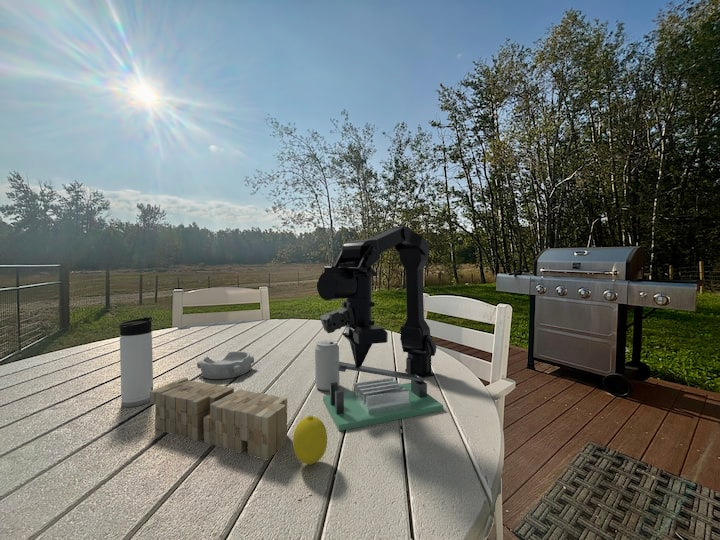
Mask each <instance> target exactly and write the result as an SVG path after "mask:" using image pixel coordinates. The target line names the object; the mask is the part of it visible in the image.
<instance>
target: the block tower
mask: <svg viewBox="0 0 720 540" xmlns="http://www.w3.org/2000/svg"><path fill="white" fill-rule="evenodd" d="M150 404H153V405H155V412H154V414H155V415H154V417H155V418H154V428H155V430H158V431H160V432H162V433H168V434H172V435H176V436H179V437H181V438H182V437H183V438H188V439H191V440H192V441H196V442H198V441H200V440H202V439H203V443H204V444H208V445H213V446H215V447H218V448H224V449H226V448H227V450H229V449H230V450H229V451H232V450H233V452H235V453H238V452H241V453H243V452H244V451H245V450H247V455H248V454H249V455H251V456H250V457H254V456H256V457H255V458H257V457H260V458H259V459H261V458H262V459H266V460H267V459H269V458H270V457H271V456H272V455H274V454H275V453H276V454H277V452H279V451H280V450H281V449H282V448H283V447H285V445H286V437H288V424H287V423H288V398H287V397H284V396H281V397H280V396H277V395H273V394H267V393H262V392H256V391H251V390H247V389H245V390H244V389H237V390H236V391H235V388H234V387H232V386H225V385H224V386H223V385H218V384H216V383H210V382H208V383H206V382H201V381H195V380H189V378H188V377H181V378H179V379H176V380H174V381H171V382H170V383H167V384H164V385H163V386H160V387H157V388H155V389H154V388H153V390H152V391H150ZM247 447H248V448H247ZM243 450H244V451H243ZM278 450H279V451H278ZM242 451H243V452H242ZM276 451H277V452H276ZM276 454H275V455H276ZM249 455H248V456H249ZM272 457H273V456H272ZM272 457H271V458H272ZM271 458H270V459H271ZM262 459H261V460H262ZM270 459H269V460H270ZM266 460H265V461H266Z"/></svg>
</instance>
